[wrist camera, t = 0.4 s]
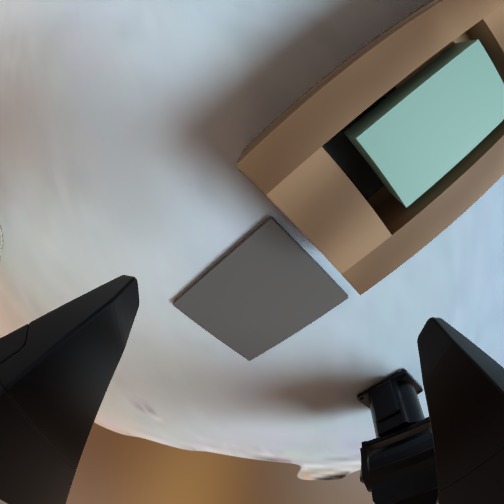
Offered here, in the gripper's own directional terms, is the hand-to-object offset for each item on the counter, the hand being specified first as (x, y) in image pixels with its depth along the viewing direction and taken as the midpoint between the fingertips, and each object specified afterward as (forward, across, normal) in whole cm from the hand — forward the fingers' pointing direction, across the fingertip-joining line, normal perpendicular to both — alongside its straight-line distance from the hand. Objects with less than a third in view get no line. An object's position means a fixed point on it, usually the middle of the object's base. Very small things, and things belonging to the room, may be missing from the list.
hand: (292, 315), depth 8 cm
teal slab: (+10, -7, -7) cm, 14 cm away
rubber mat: (+12, 0, +9) cm, 16 cm away
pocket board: (+12, -7, -7) cm, 16 cm away
